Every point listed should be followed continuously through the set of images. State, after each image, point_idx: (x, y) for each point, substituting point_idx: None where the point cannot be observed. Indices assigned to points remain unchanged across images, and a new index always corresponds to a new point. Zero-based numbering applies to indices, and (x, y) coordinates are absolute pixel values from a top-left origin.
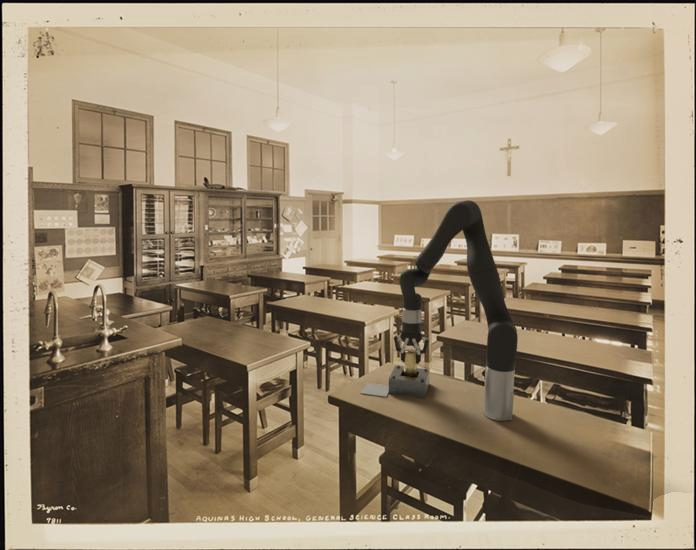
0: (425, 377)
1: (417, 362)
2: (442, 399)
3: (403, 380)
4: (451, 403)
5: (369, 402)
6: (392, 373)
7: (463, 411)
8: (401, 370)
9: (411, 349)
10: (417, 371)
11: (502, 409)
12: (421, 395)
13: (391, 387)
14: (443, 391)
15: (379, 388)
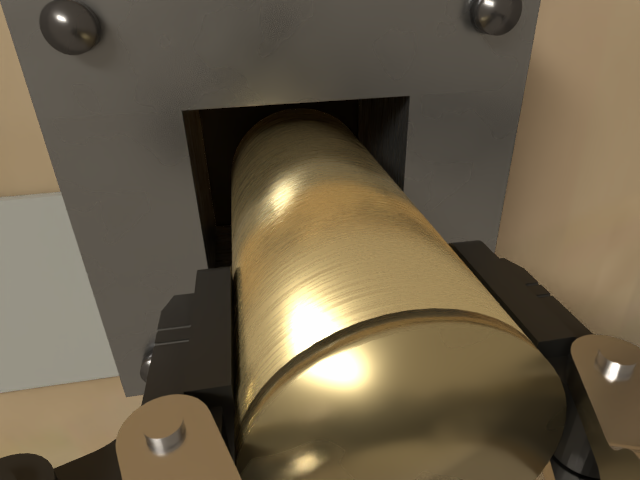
0: (478, 237)
1: None
2: (533, 231)
3: None
4: (579, 261)
5: (88, 446)
6: (104, 281)
7: (621, 321)
8: (172, 145)
9: (410, 362)
10: (386, 95)
11: None
12: None
13: None
14: (563, 90)
15: (42, 278)
